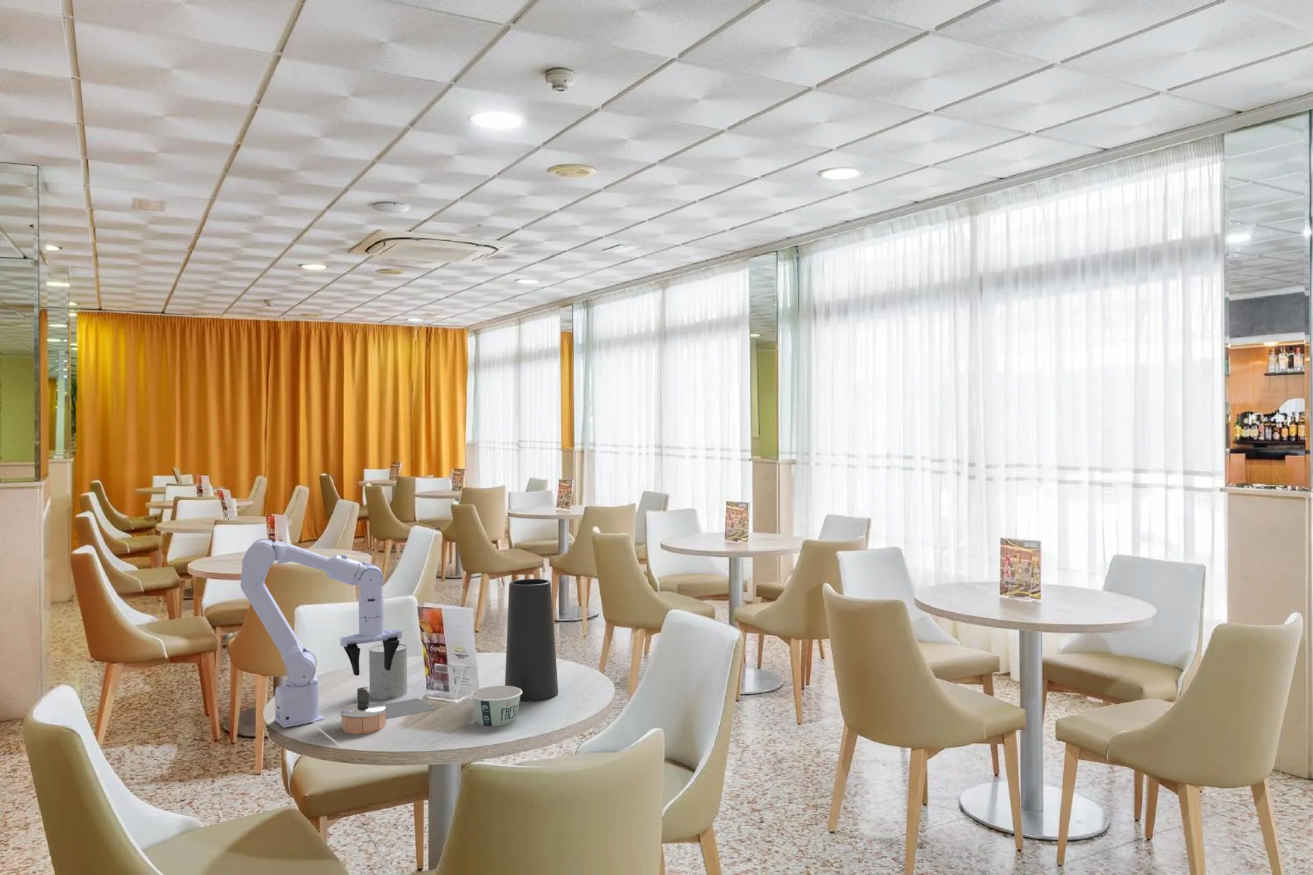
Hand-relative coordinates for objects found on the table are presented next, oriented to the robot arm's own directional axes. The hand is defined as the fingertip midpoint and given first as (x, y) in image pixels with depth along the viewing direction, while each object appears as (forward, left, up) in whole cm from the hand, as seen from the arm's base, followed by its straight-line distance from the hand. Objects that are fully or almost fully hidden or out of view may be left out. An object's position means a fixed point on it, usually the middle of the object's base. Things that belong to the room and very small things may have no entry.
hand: (372, 672), depth 226 cm
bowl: (-6, -11, -10) cm, 16 cm away
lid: (-6, -11, -6) cm, 14 cm away
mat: (+6, -2, -10) cm, 12 cm away
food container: (+21, -24, -10) cm, 33 cm away
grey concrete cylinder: (+9, +13, -10) cm, 19 cm away
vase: (+38, -10, -10) cm, 41 cm away
